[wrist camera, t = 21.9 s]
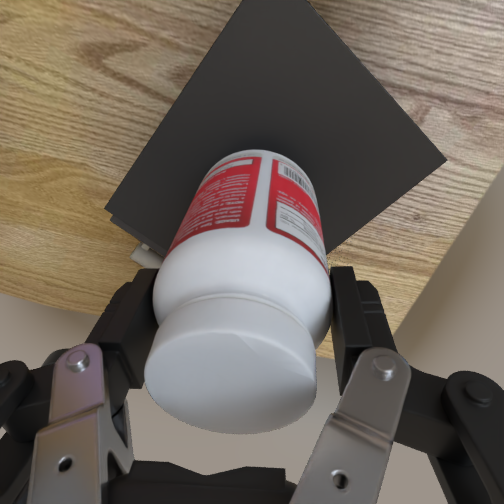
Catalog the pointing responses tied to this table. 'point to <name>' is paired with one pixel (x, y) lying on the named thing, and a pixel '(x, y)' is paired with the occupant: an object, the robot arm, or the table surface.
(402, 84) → the table surface
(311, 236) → the pill bottle
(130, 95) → the table surface
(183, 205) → the dark grey drawer box
